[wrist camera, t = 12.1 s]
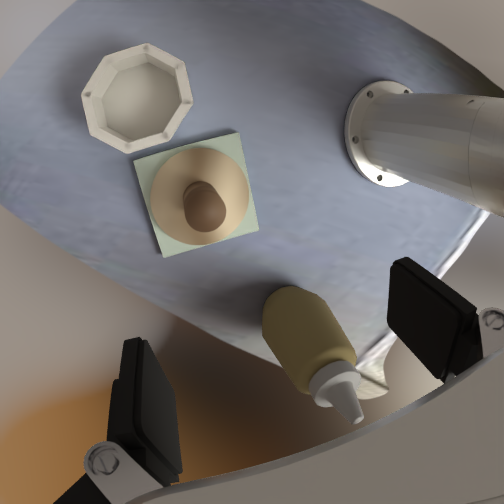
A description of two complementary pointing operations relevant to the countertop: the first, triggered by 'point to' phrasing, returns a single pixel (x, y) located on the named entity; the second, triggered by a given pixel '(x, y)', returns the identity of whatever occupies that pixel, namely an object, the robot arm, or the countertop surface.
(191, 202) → the lid
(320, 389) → the squeeze bottle
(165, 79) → the bowl
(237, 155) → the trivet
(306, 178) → the countertop surface
